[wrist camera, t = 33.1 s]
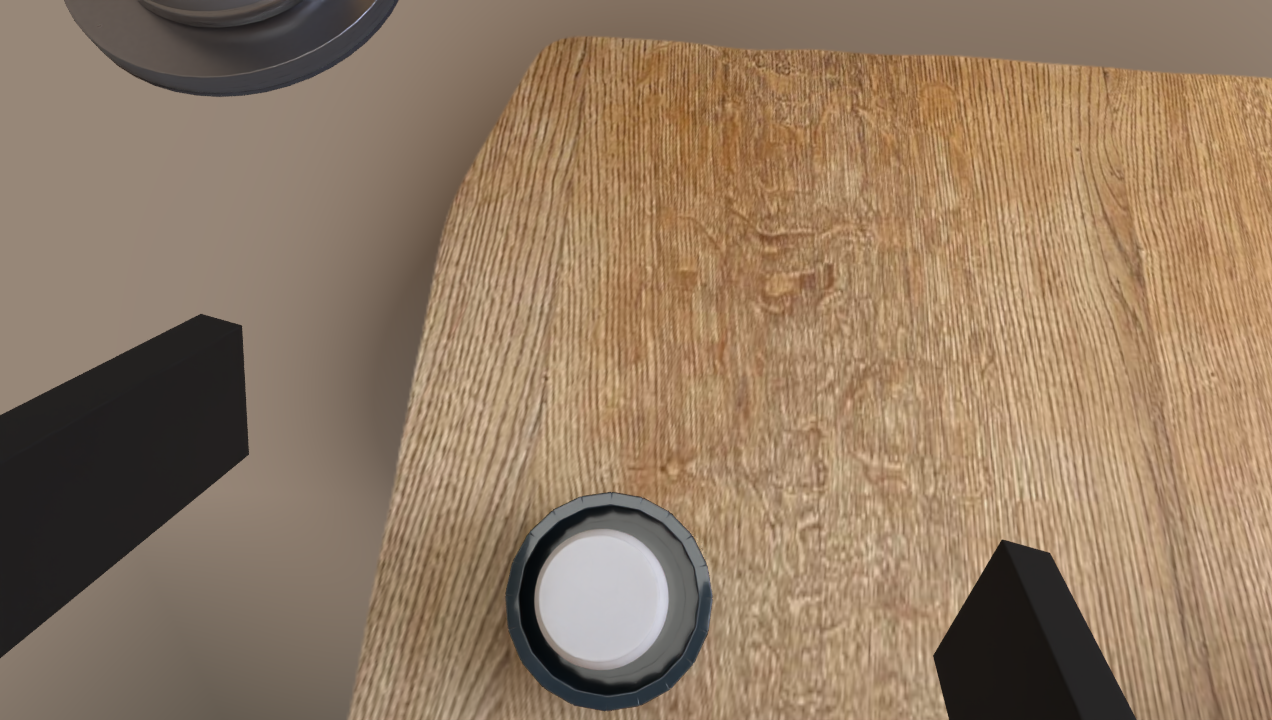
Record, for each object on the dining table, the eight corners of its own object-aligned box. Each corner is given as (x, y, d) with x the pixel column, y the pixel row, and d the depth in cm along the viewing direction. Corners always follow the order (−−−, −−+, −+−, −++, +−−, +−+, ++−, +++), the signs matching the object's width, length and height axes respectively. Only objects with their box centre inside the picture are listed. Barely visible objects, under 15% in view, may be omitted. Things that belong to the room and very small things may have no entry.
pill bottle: (673, 557, 37) (692, 545, 27) (644, 671, 35) (653, 700, 26) (569, 526, 37) (551, 504, 28) (534, 637, 35) (503, 653, 26)
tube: (519, 522, 38) (497, 507, 31) (680, 499, 38) (693, 480, 32) (534, 701, 35) (515, 726, 28) (708, 673, 36) (728, 691, 29)
